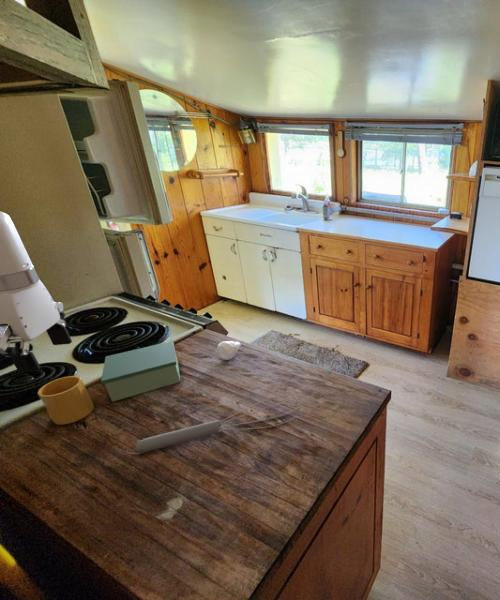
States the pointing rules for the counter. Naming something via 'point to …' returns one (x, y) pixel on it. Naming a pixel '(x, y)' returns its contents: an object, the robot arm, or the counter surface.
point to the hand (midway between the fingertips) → (47, 356)
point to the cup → (66, 400)
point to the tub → (140, 370)
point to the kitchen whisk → (197, 431)
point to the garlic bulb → (228, 349)
